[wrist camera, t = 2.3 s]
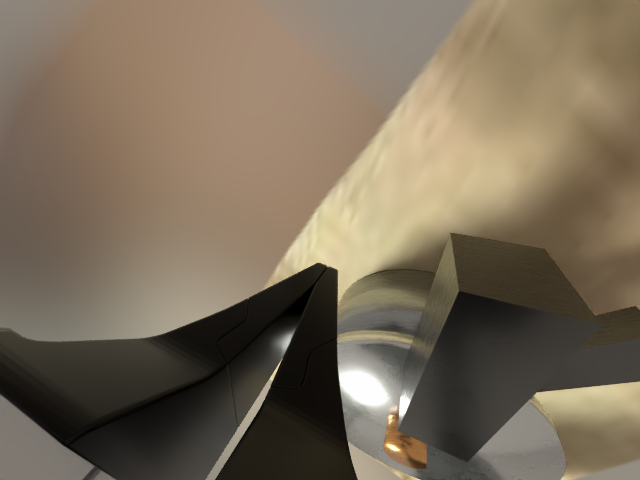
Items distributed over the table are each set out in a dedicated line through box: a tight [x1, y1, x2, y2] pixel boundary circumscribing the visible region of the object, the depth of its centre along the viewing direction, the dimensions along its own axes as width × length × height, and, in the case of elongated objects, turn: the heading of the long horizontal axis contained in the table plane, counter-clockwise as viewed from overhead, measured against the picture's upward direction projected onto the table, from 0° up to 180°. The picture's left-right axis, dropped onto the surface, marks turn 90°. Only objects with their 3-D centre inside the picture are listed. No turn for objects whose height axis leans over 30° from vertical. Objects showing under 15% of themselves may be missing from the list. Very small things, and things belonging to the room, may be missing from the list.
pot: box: [337, 270, 640, 396], centre depth 17 cm, size 20×14×6 cm
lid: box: [337, 233, 602, 480], centre depth 12 cm, size 21×15×4 cm
